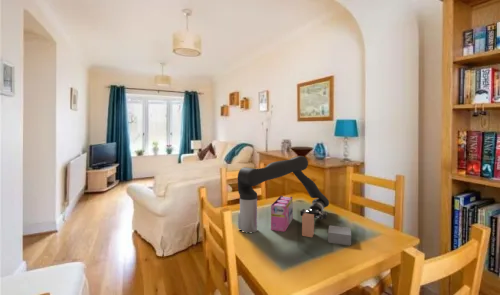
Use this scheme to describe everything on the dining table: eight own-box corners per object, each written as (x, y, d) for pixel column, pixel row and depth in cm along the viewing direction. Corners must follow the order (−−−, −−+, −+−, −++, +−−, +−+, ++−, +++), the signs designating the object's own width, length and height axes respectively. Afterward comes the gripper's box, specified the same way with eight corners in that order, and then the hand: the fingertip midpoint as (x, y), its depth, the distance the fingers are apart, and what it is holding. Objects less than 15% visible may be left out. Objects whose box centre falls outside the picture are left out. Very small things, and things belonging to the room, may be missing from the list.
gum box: (280, 216, 153) (280, 195, 153) (293, 218, 151) (293, 196, 150) (270, 230, 131) (270, 204, 130) (285, 232, 128) (285, 206, 128)
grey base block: (328, 242, 115) (328, 232, 115) (329, 235, 125) (329, 225, 125) (351, 246, 112) (351, 235, 112) (350, 237, 121) (350, 227, 121)
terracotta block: (302, 235, 123) (302, 216, 123) (304, 232, 128) (304, 213, 127) (312, 237, 121) (312, 217, 121) (313, 233, 126) (314, 214, 125)
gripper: (304, 202, 151) (298, 209, 136) (328, 204, 145) (325, 212, 130) (304, 214, 151) (298, 222, 136) (328, 217, 145) (325, 226, 130)
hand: (311, 217), depth 133 cm, fingers open, 8 cm apart
